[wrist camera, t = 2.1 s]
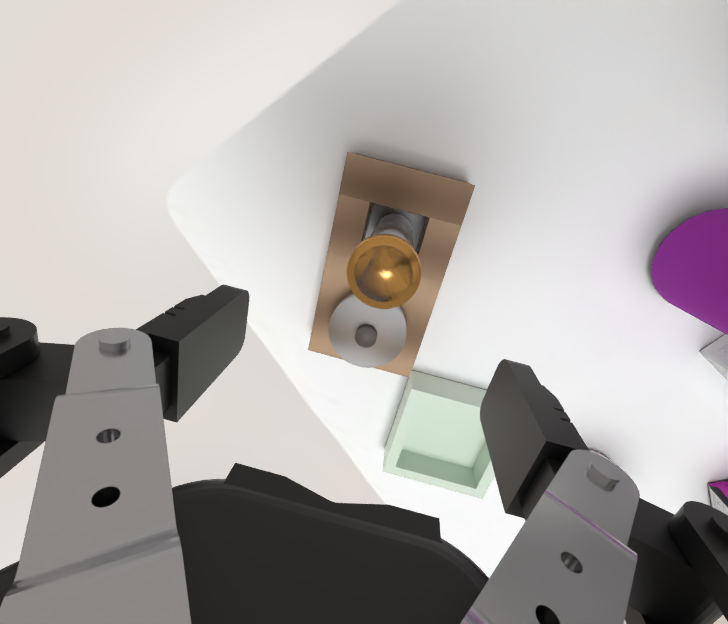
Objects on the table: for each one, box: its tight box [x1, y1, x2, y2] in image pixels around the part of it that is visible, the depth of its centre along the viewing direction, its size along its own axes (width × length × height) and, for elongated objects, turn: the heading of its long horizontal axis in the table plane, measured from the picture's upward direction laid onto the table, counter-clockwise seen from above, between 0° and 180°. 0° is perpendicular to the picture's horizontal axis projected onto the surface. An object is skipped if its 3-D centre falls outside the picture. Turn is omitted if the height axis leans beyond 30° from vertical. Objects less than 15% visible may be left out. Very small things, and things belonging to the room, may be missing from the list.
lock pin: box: [347, 213, 421, 309], centre depth 24 cm, size 4×4×12 cm
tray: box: [383, 370, 495, 499], centre depth 35 cm, size 10×10×3 cm
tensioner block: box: [308, 152, 475, 377], centre depth 28 cm, size 16×9×6 cm, turn 167°
